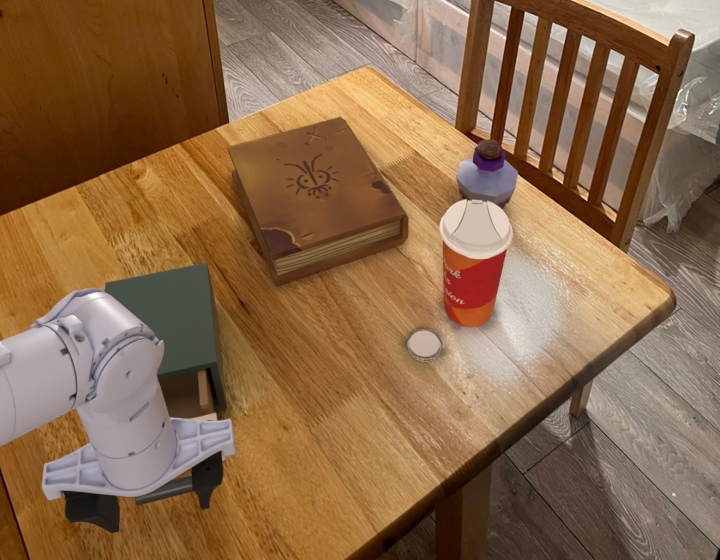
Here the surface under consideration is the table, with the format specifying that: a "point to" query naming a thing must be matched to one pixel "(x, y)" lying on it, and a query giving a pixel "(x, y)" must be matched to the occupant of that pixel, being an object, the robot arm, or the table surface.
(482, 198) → the potion bottle
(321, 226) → the diary
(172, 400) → the drawer
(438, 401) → the table surface
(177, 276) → the cabinet
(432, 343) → the white bottle cap
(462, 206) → the coffee cup
